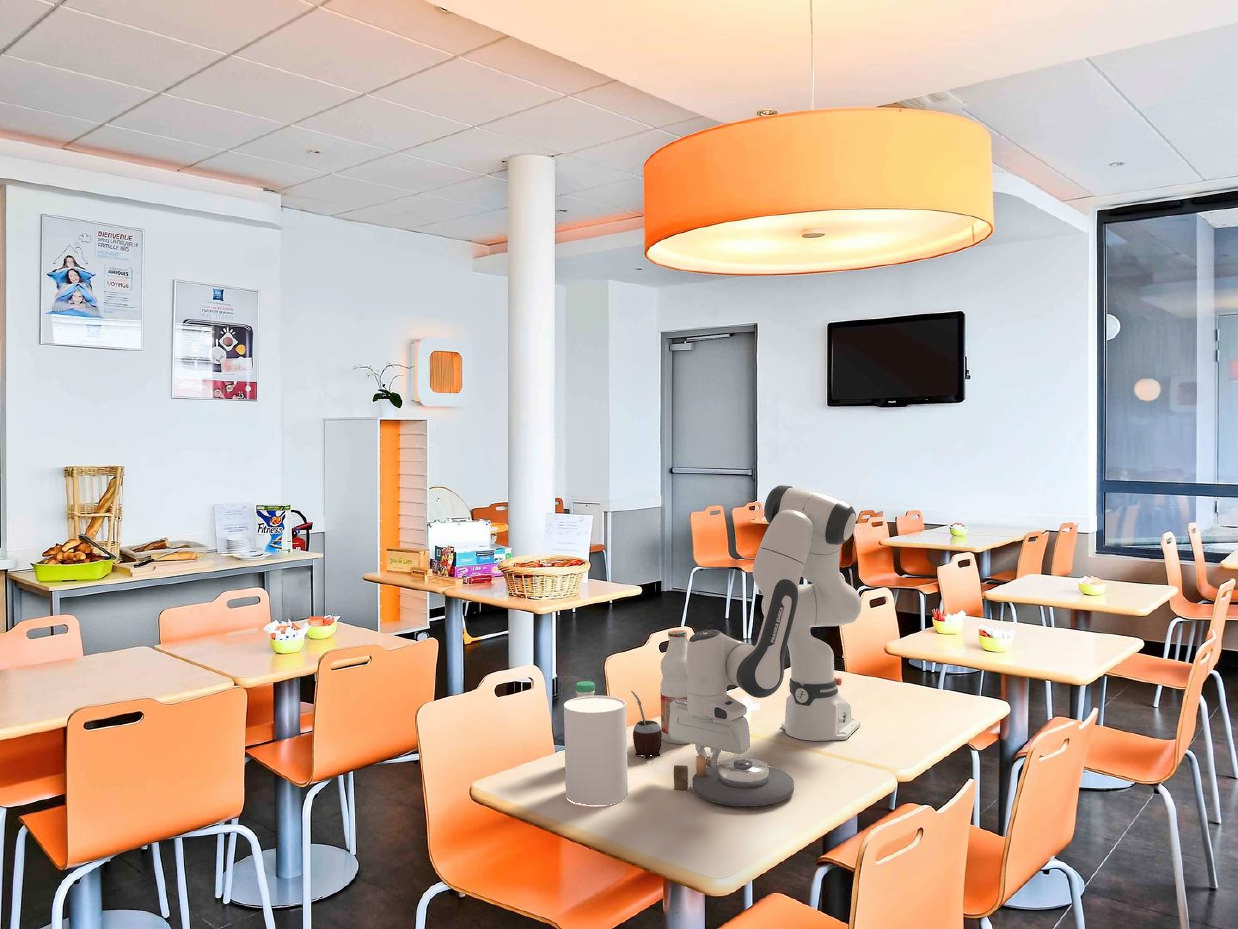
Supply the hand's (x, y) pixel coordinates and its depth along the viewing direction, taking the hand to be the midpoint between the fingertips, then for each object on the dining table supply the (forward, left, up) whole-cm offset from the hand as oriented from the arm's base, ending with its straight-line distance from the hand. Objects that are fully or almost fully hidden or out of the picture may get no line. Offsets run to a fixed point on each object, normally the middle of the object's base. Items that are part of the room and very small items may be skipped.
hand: (708, 765), depth 207 cm
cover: (-1, +8, -2) cm, 9 cm away
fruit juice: (-22, -25, -4) cm, 33 cm away
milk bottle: (+8, -30, -4) cm, 31 cm away
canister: (+20, -16, -4) cm, 26 cm away
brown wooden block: (+6, -3, -4) cm, 8 cm away
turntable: (-1, +8, -3) cm, 9 cm away
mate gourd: (-7, -24, -4) cm, 25 cm away
